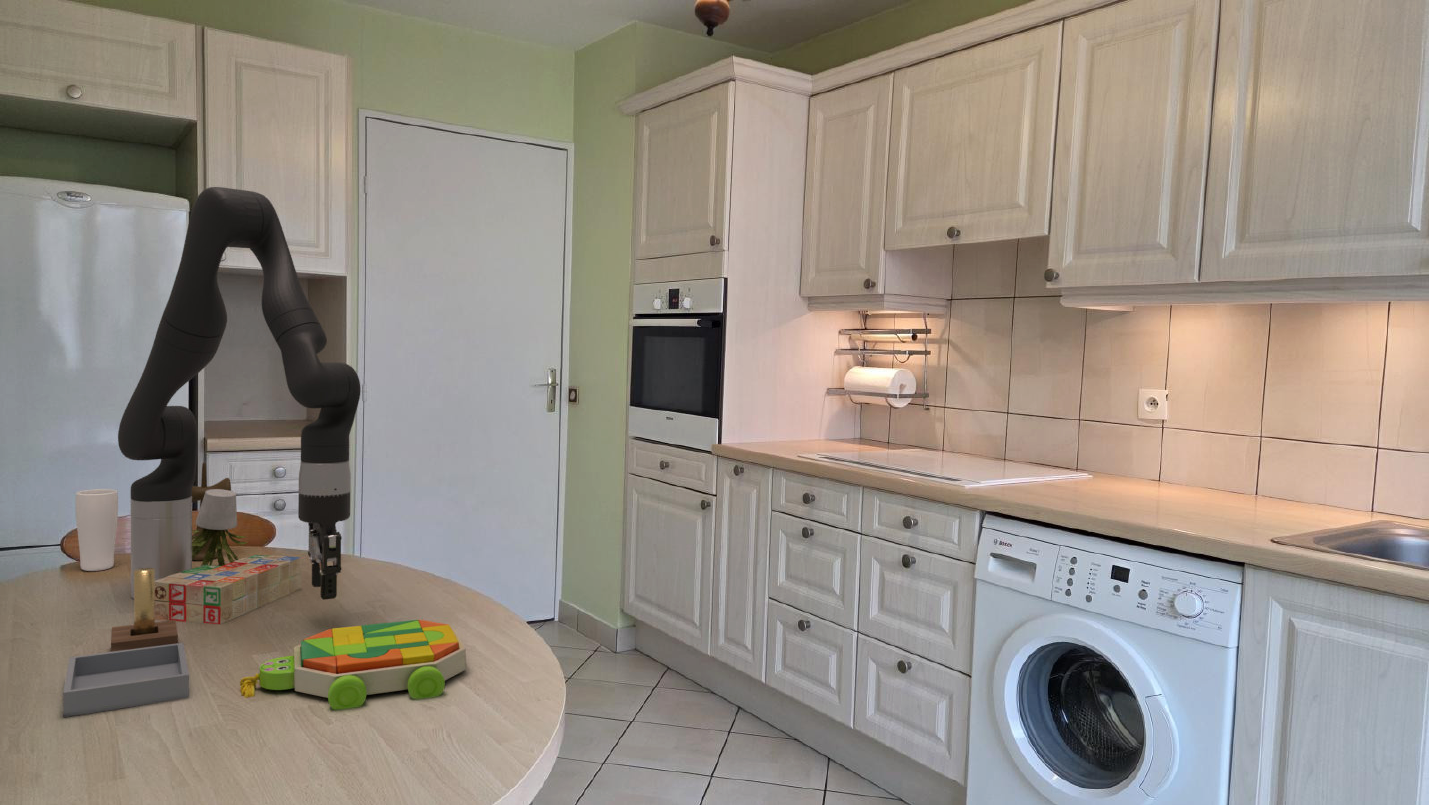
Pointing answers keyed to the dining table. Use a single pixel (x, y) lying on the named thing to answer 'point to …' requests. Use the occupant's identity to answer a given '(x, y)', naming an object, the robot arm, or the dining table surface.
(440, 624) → the wooden turtle toy
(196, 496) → the kendama
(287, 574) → the stack of blocks
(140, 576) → the pin
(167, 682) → the pin tray
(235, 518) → the house plant
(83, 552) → the drinking glass
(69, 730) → the dining table surface
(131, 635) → the pin base
